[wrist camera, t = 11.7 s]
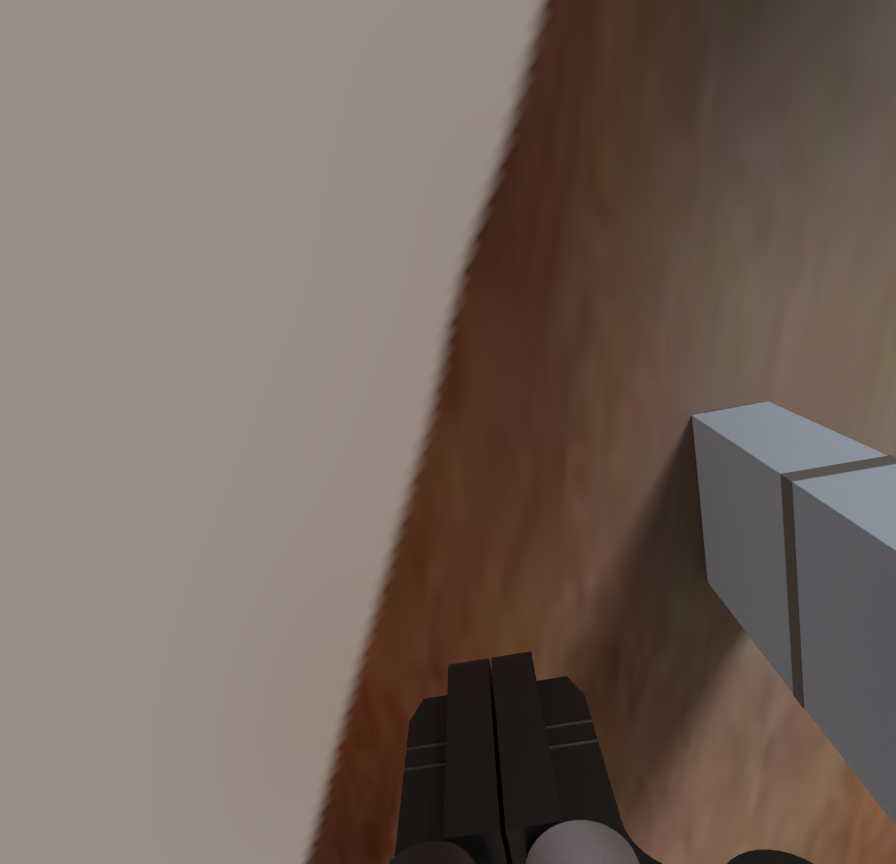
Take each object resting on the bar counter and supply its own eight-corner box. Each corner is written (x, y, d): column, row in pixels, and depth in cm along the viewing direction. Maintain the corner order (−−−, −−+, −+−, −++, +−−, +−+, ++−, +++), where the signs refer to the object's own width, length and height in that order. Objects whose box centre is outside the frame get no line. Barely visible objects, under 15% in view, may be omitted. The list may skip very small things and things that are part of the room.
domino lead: (690, 414, 17) (1011, 627, 7) (768, 400, 16) (1207, 598, 7) (707, 582, 18) (996, 959, 8) (779, 571, 18) (1159, 940, 8)
